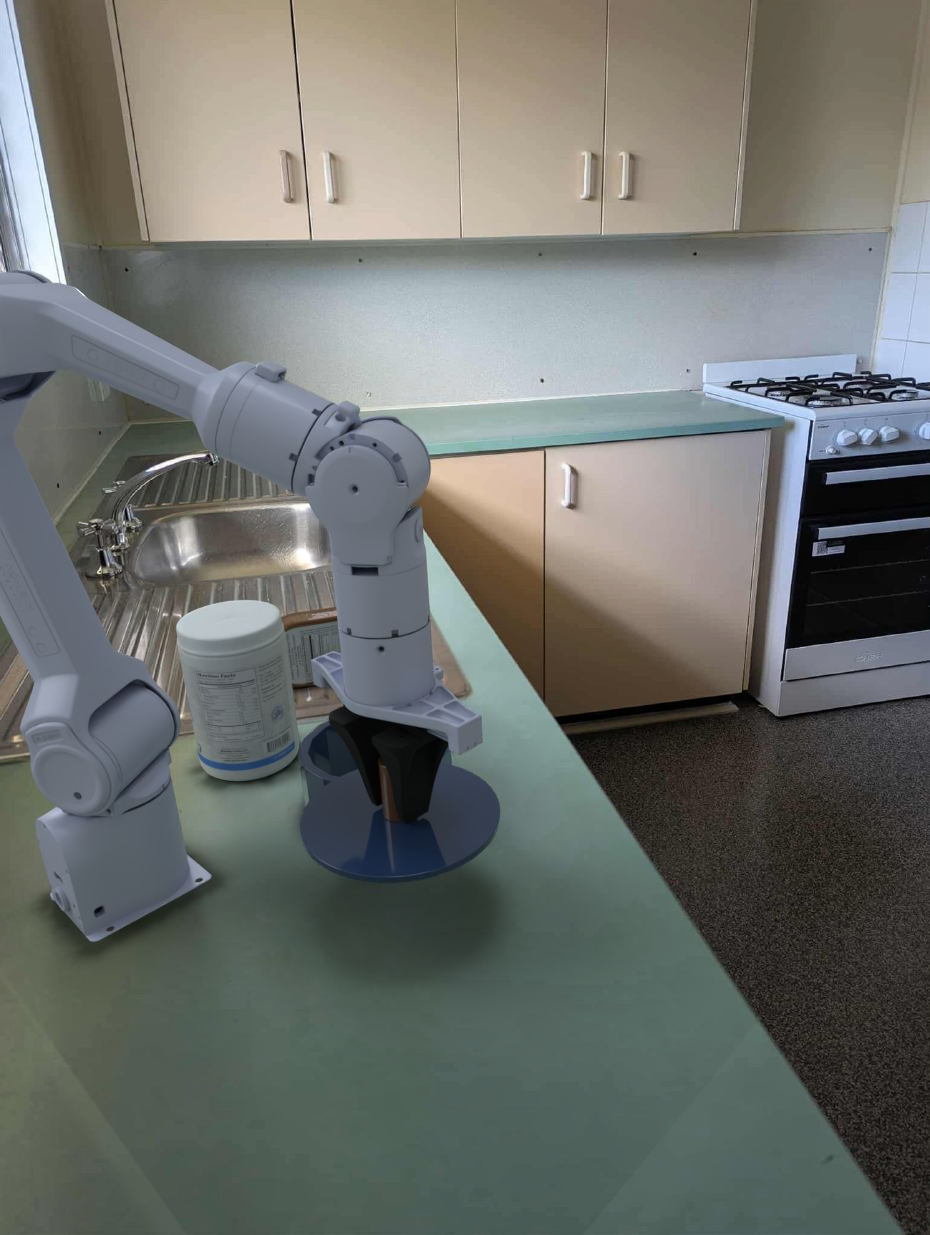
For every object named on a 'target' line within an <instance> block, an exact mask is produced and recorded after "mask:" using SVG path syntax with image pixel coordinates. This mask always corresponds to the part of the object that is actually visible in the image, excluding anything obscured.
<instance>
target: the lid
mask: <svg viewBox="0 0 930 1235" xmlns="http://www.w3.org/2000/svg"><path fill="white" fill-rule="evenodd" d="M378 769H379V779H380V790H381V800H382V804H381V805H380V806H376V805H374V804H373V803H372V802H371V800H370V798H369V795H368V793H367V790H366V788H365V785H364V783H363V780H362V778H361V775H360V773H359V770H358V769H357V770H354V771H351V772H349V773H347V774H345V775H342V776H340V777H338V778H337V779H335V780H333V781H331V782H330V783H328V784H327V785H326V786H324V787H323V788H322V789H320V790H319V791H318V792H317V793H316V794H315V795H314V796H313V797H312V798H311V799H310V801H309V802H308V803H307V805H306V807H305V806H304V808H303V811H302V812H301V816H300V821H299V836H300V840H301V844H302V846H303V849H304V850H305V852H306V853H307V854H308V856H309V857H310V858H311V859H312V860H313V861H314V862H315V863H316V864H317V865H319V866H320V867H322V868H323V869H325V870H327V871H328V872H331V873H333V874H335V875H336V876H340V877H343V878H346V879H349V880H353V881H359V882H362V883H363V882H364V883H373V884H402V883H410V882H419V881H424V880H428V879H431V878H435V877H438V876H441V875H444V874H447V873H449V872H451V871H454V870H456V869H458V868H460V867H462V866H464V865H467V863H469V862H471V861H473V860H474V859H475V858H476V857H478V856H480V854H482V853H483V851H484V850H486V848H488V847H489V845H490V844H491V843H492V841H493V840H494V839H495V837H496V835H497V832H498V830H499V827H500V825H501V816H502V814H501V813H502V812H501V810H502V809H501V804H500V800H499V798H498V795H497V793H496V792H495V790H494V789H493V787H491V785H490V784H488V782H487V781H486V780H484V779H483V778H481V777H480V776H479V775H477V774H475V773H474V772H472V771H470V770H468V769H465V768H463V767H460V766H457V765H454V764H453V765H451V764H446V763H442V762H441V763H440V765H439V768H438V771H437V775H436V778H435V782H434V786H433V791H432V795H431V800H430V805H429V810H428V812H427V813H425V814H423V815H421V816H420V817H418V818H416V819H415V820H413V821H411V822H410V823H405V822H403V821H401V820H400V819H399V816H398V814H397V811H396V807H395V802H394V797H393V791H392V785H391V780H390V777H389V774H388V771H387V768H386V766H385V763H384V761H383V759H382V757H381V756H380V757H379V758H378Z"/></svg>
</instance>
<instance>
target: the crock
mask: <svg viewBox="0 0 930 1235" xmlns="http://www.w3.org/2000/svg"><path fill="white" fill-rule="evenodd" d="M453 753H454V752H452V751H450V750H449V746H448V748H447V749H446V751H445V753H444V756H443V758H442V760H441V762H442V763H446V764H451V765H454V755H453ZM297 756H298V764H299V770H300V771H299V772H300V777H301V778H300V779H301V786H302V791H303V792H302V793H303V798H304V808H305V807H306V805H307V803H308V802H309V801H310V799H311V798H312V797H313V796H314V795H315V794H316V793H317V792H318V791H319V790H320V789H322V788H323V787H324V786H326V785H327V784H328V783H330V782H331V781H333V780H335V779H337V778H338V777H340V776H342V775H345V774H347V773H349V772H351V771H354V770H357V769H358V768H357V765H356V763H355V761H354V759H353V757H352V755H351V753H350V751H349V749H348V748H347V746H346V745H345V743H344V741H343V740H342V738H341V737H340V736H339V734H338V733H337V732H336V730H335V729H334V728H333V727H332V726H331V725H330V724H329V720H327V721H325V722H322V723H320V724H319V725H318V726H316V727H315V728H314V729H313V730H312V731H310V732H309V733H308V734H307V735H306V736H305V737H304V738H303V739H302V742H301V745H300V747H299V750H298V753H297Z"/></svg>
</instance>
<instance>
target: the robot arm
mask: <svg viewBox="0 0 930 1235" xmlns="http://www.w3.org/2000/svg"><path fill="white" fill-rule="evenodd" d="M59 371H71V372H74V373H77V374H79V375H82V376H84V377H87V378H89V379H90V380H93V381H96V382H98V383H101V384H103V385H106V386H107V387H110V388H112V389H115V390H116V391H119V392H122V393H124V394H127V395H129V396H132V397H134V398H136V399H138V400H141V401H143V402H145V403H148V404H150V405H153V406H154V407H157V408H159V409H162V410H164V411H167V412H169V413H171V414H173V415H177V416H178V417H181V418H184V419H186V420H187V421H190V422H193V424H194V425H195V428H196V430H197V433H198V435H199V438H200V440H201V443H202V445H203V446H204V448H205V449H206V451H208V452H209V453H210V454H212V455H215V456H216V457H218V458H220V459H223V460H225V461H227V462H229V463H231V464H232V465H233V464H234V465H236V466H237V467H239V468H242V469H244V470H245V471H248V472H250V473H252V474H254V475H255V476H257V477H258V476H259V477H260V478H262V479H265V480H266V481H268V482H271V483H273V484H275V485H276V486H279V487H281V488H283V489H285V490H287V491H289V492H291V493H293V494H295V495H296V496H299V497H301V498H303V499H307V502H308V504H309V507H310V509H311V511H312V512H313V514H314V516H315V517H316V518H317V519H318V521H319V522H320V523H321V524H322V525H323V526H324V527H325V528H326V530H327V532H328V537H329V538H328V540H329V547H330V562H331V572H332V581H333V582H332V583H333V590H334V598H335V599H334V600H335V601H334V602H335V607H336V610H337V619H338V629H339V638H340V648H341V654H340V653H338V652H335V651H332V652H330V653H327V654H325V655H322V656H320V657H317V658H315V659H312V660H311V664H312V672H313V681H314V685H313V686H316V687H318V688H321V689H325V688H329V687H330V688H331V689H332V690H333V692H334V693H335V694H336V696H337V698H339V700H340V701H341V702H342V706H339V707H337V708H335V709H333V710H332V711H330V712H329V713H328V721H329V724H330V725H331V726H332V727H333V728H334V729H335V730H336V732H337V733H338V734H339V736H340V737H341V738H342V740H343V741H344V743H345V745H346V746H347V748H348V749H349V751H350V753H351V755H352V757H353V759H354V761H355V763H356V765H357V768H358V770H359V773H360V775H361V778H362V780H363V783H364V785H365V788H366V790H367V793H368V795H369V798H370V800H371V802H372V803H373V804H374V805H376V806H380V805H381V804H382V800H381V790H380V779H379V769H378V758H379V757H380V756H381V757H382V759H383V761H384V763H385V766H386V768H387V771H388V774H389V777H390V780H391V785H392V791H393V797H394V802H395V807H396V811H397V814H398V816H399V819H400V820H401V821H403V822H405V823H410V822H411V821H413V820H415V819H416V818H418V817H420V816H421V815H423V814H425V813H427V812H428V810H429V805H430V800H431V795H432V791H433V786H434V782H435V778H436V775H437V771H438V768H439V765H440V763H441V760H442V758H443V756H444V753H445V751H446V749H447V748H448V746H449V750H450V751H452V752H453V753H454V754H455V755H458V756H461V755H463V754H465V753H467V752H469V751H471V750H472V749H474V748H476V747H477V746H480V745H481V744H483V743H484V740H483V739H484V738H483V721H482V714H481V713H478V712H476V711H474V710H473V709H471V708H469V707H468V706H466V705H465V704H464V703H463V702H462V701H461V700H460V699H459V698H457V696H456V695H454V693H453V692H452V691H451V690H450V689H448V688H447V687H446V685H445V684H443V682H441V681H442V680H443V679H444V668H443V667H441V666H439V665H436V664H434V655H433V654H434V653H433V638H432V625H431V624H432V623H431V607H430V606H431V605H430V591H429V590H430V588H429V576H428V561H427V559H428V558H427V549H426V544H425V537H424V521H423V507H422V505H420V504H418V505H416V506H414V505H415V504H416V503H417V502H418V501H419V500H420V499H421V498H422V496H423V495H424V493H425V491H426V490H427V487H428V485H429V483H430V478H431V472H432V464H431V457H430V454H429V451H428V448H427V446H426V444H425V442H424V441H423V439H422V438H421V437H420V436H419V434H418V433H417V432H415V431H414V429H412V428H410V426H408V425H406V424H405V423H403V422H402V421H401V420H400V419H399V418H398V417H397V416H394V415H388V414H376V415H372V416H368V417H366V418H361V416H360V412H361V407H360V406H359V405H357V404H355V403H353V402H350V401H348V400H344V401H341V402H339V403H335V402H333V401H330V400H329V399H327V398H325V397H323V396H321V395H318V394H317V393H314V392H312V391H310V390H308V389H306V388H304V387H302V386H300V385H298V384H296V383H294V382H292V381H289V380H287V379H285V378H286V376H287V372H288V370H287V367H286V366H283V365H281V364H279V363H277V362H275V361H273V360H271V359H268V360H264V361H259V362H258V363H256V364H254V363H252V362H250V361H246V360H245V361H239V362H237V363H234V364H232V365H230V366H227V367H224V368H223V369H220V370H219V369H217V368H216V367H214V366H211V365H210V364H208V363H206V362H204V361H202V360H201V359H199V358H197V357H195V356H194V355H193V354H192V355H191V354H190V353H188V352H186V351H185V350H182V349H181V348H179V347H177V346H175V345H173V344H171V343H170V342H168V341H166V340H164V339H163V338H161V337H159V336H157V335H155V334H153V333H151V332H150V331H148V330H146V329H144V328H142V327H141V326H138V325H137V324H135V323H133V322H132V321H130V320H128V319H126V318H124V317H122V316H120V315H119V314H117V313H115V312H113V311H111V310H109V309H107V308H106V307H103V306H102V305H100V304H99V303H96V302H95V301H93V300H91V299H90V298H88V297H87V296H86V295H85V294H84V293H82V292H81V291H80V290H79V289H78V288H77V287H75V286H72V285H68V284H65V283H61V282H53V281H52V280H50V279H49V278H48V277H46V276H45V275H43V274H42V273H38V272H36V271H33V270H30V269H12V270H9V271H5V272H0V618H1V620H2V623H3V624H4V626H5V628H6V630H7V632H8V634H9V636H10V638H11V640H12V641H13V644H14V646H15V648H16V650H17V652H18V653H19V655H20V657H21V659H22V661H23V663H24V666H25V667H26V670H27V671H28V673H29V675H30V677H31V679H32V681H33V686H32V691H31V693H30V697H29V698H28V702H27V704H26V707H25V710H24V713H23V716H22V719H21V722H20V726H19V731H20V733H21V735H22V737H23V739H24V741H25V742H26V745H27V748H28V751H29V755H30V756H29V757H30V771H31V775H32V778H33V781H34V783H35V785H36V787H37V789H38V790H39V791H40V793H41V794H42V795H43V796H44V797H45V798H46V799H47V801H49V803H51V804H52V805H54V806H55V807H54V808H52V809H51V810H49V811H48V812H46V813H45V814H43V815H41V816H40V817H38V818H36V820H35V821H34V832H35V836H36V841H37V844H38V848H39V851H40V855H41V859H42V863H43V866H44V869H45V873H46V877H47V880H48V885H49V888H50V891H51V892H50V893H49V896H50V899H51V901H54V902H55V903H56V904H57V906H58V907H59V908H60V910H61V911H62V912H64V913H65V915H66V916H67V917H68V918H70V920H71V922H72V923H73V924H74V925H75V927H77V928H78V929H79V930H80V932H81V933H82V934H83V935H84V936H85V938H87V939H88V941H90V942H92V943H96V942H98V941H101V940H103V939H105V938H106V937H108V936H110V935H112V934H114V933H115V932H118V931H119V930H122V929H123V928H124V927H126V926H129V925H130V924H132V923H134V922H136V921H137V920H139V919H141V918H143V917H145V916H146V915H148V914H151V913H152V912H154V911H156V910H158V909H159V908H161V907H163V906H165V905H167V904H168V903H171V902H172V901H174V900H176V899H178V898H180V897H181V896H183V895H185V894H187V893H189V892H191V891H192V890H194V889H196V888H198V887H199V886H201V885H203V884H205V883H207V882H208V881H210V880H211V879H212V878H213V875H212V874H211V873H210V872H209V871H208V870H206V869H205V868H204V867H203V866H202V865H200V864H199V863H198V862H197V861H196V860H194V859H193V858H192V857H191V856H190V855H188V853H187V849H186V843H185V839H184V838H185V837H184V833H183V829H182V825H181V824H182V823H181V818H180V814H179V809H178V804H177V799H176V795H175V789H174V784H173V780H172V775H171V769H170V765H171V764H172V762H173V761H172V756H171V750H170V747H172V746H173V745H174V744H175V743H176V741H177V740H178V737H179V736H180V732H181V727H182V722H181V721H182V720H181V715H180V712H179V709H178V707H177V705H176V703H175V702H174V700H173V699H172V697H171V696H170V695H169V694H168V693H167V692H166V691H165V690H164V689H163V688H162V687H160V686H159V684H158V683H157V682H156V681H155V680H154V679H153V676H152V675H151V674H150V671H149V669H148V667H147V665H146V663H145V661H143V660H142V659H140V658H137V657H135V656H131V655H129V654H127V653H122V652H120V651H118V650H115V649H114V648H113V645H112V643H111V641H110V639H109V637H108V635H107V632H106V631H105V629H104V626H103V624H102V622H101V619H100V618H99V616H98V613H97V611H96V610H95V608H94V606H93V603H92V602H91V599H90V597H89V594H88V593H87V591H86V588H85V586H84V584H83V582H82V580H81V578H80V576H79V574H78V572H77V569H76V567H75V565H74V563H73V561H72V559H71V557H70V554H69V552H68V550H67V548H66V546H65V544H64V542H63V540H62V537H61V536H60V534H59V531H58V529H57V527H56V524H55V523H54V521H53V518H52V517H51V514H50V512H49V510H48V508H47V505H46V503H45V501H44V499H43V497H42V494H41V493H40V491H39V489H38V487H37V484H36V483H35V480H34V478H33V476H32V474H31V472H30V470H29V468H28V466H27V463H26V461H25V459H24V457H23V454H22V452H21V450H20V448H19V446H18V444H17V442H16V440H15V433H16V431H17V429H18V426H19V424H20V423H21V421H22V418H23V416H24V413H25V411H26V409H27V407H28V404H29V403H30V402H31V401H32V400H33V399H34V398H35V396H36V395H37V394H38V393H39V392H40V391H41V390H42V389H43V388H44V387H45V386H46V385H47V384H48V383H49V382H50V380H51V379H52V378H54V376H55V375H56V374H57V373H58V372H59ZM412 507H413V508H412ZM198 880H201V881H199V882H197V881H198ZM109 928H113V929H111V930H108V929H109Z"/></svg>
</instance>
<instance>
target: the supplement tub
mask: <svg viewBox="0 0 930 1235" xmlns="http://www.w3.org/2000/svg"><path fill="white" fill-rule="evenodd" d="M281 617H282V614H281V611H280V609H279V608H278V606H276V605H274V604H272V603H269V602H268V601H267V602H266V601H263V600H256V599H255V600H253V599H237V600H227V601H226V600H225V601H222V602H221V601H220V602H215V603H212V604H207V605H205V606H201V607H198V608H196V609H193V610H192V611H189V612H188V613H186V614H185V615H183V616H182V617H181V618H180V619H179V620H178V622H177V623H176V626H175V630H176V636H177V638H176V644H177V650H178V655H179V662H180V666H181V671H182V676H183V682H184V687H185V692H186V698H187V702H188V708H189V713H190V718H191V725H192V729H193V734H194V735H193V736H194V740H195V745H196V751H197V755H198V760H199V764H200V766H201V767H202V769H203V771H205V773H207V774H208V775H209V776H211V777H213V778H215V779H218V780H219V779H220V780H223V781H228V782H247V781H253V780H259V779H263V778H266V777H268V776H271V775H273V774H275V773H277V772H279V771H281V770H283V769H284V768H285V767H287V766H289V765H290V764H291V763H292V762H293V761H294V759H295V758H296V757H297V756H298V754H299V751H300V737H299V728H298V720H297V712H296V705H295V698H294V691H293V687H292V682H291V674H290V667H289V659H288V651H287V644H286V637H285V631H284V625H283V622H282V619H281Z"/></svg>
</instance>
